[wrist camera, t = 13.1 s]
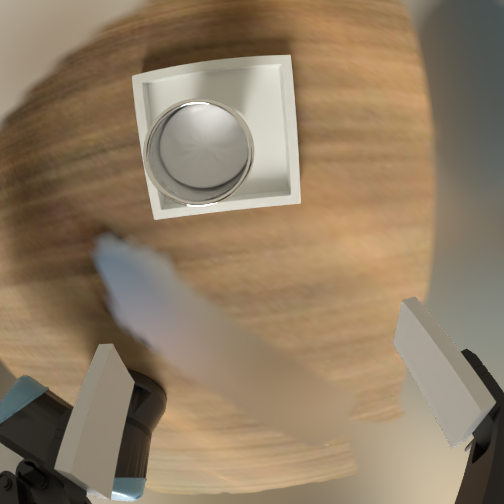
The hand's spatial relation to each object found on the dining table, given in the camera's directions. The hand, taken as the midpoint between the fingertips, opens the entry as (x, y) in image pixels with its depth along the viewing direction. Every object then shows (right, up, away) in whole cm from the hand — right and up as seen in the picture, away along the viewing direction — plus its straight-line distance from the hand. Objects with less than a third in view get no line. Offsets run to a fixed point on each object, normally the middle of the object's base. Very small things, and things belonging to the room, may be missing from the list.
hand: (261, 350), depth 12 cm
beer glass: (-4, +17, +17) cm, 25 cm away
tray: (-4, +17, +18) cm, 25 cm away
